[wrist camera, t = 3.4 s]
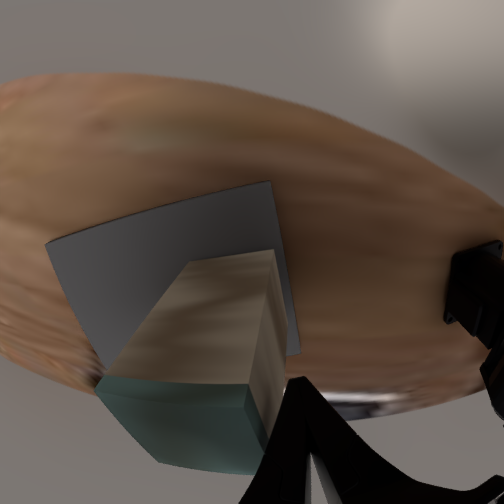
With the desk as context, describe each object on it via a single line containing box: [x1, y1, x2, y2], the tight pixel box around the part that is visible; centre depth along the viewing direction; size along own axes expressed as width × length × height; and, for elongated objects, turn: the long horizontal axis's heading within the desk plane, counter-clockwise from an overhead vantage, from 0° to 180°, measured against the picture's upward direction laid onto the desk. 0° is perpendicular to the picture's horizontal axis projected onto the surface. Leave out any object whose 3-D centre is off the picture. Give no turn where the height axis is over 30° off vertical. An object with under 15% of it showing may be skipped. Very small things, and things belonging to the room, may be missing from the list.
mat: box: [45, 180, 301, 371], centre depth 17 cm, size 16×12×1 cm
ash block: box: [94, 249, 288, 475], centre depth 12 cm, size 5×5×10 cm
